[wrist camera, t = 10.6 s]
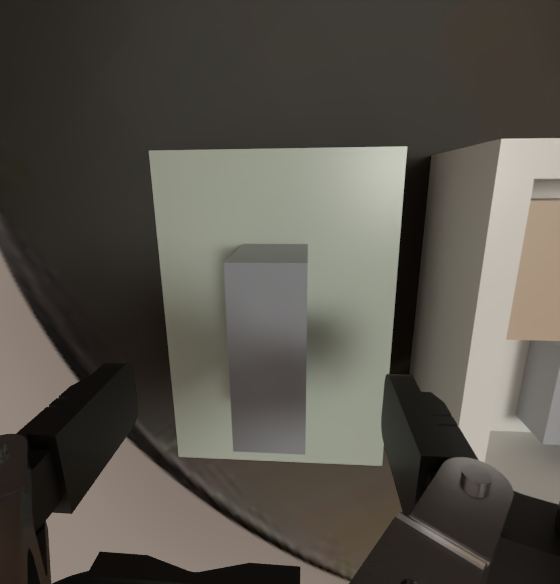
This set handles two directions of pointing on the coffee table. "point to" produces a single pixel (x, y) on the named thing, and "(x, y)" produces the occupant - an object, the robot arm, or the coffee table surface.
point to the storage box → (495, 305)
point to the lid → (279, 298)
